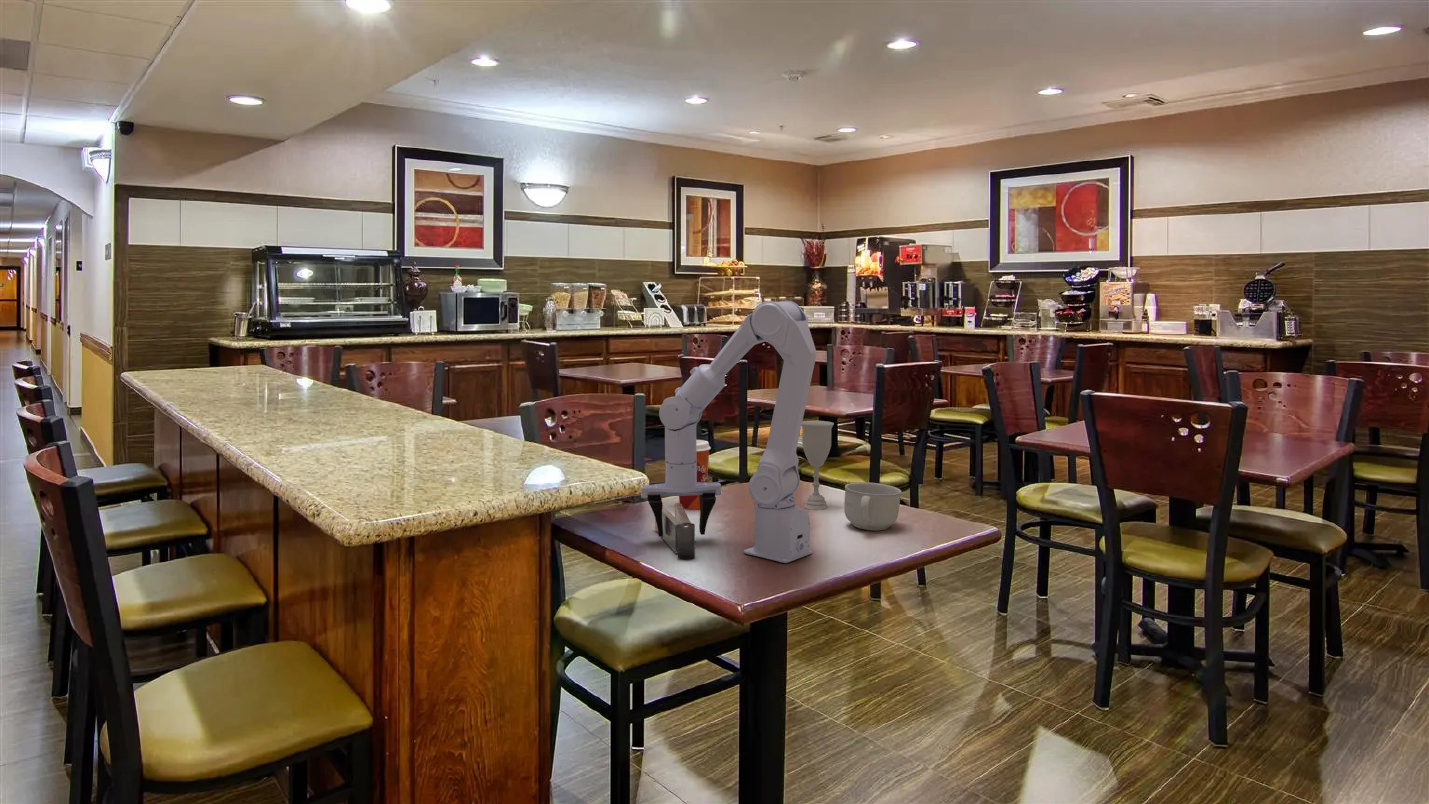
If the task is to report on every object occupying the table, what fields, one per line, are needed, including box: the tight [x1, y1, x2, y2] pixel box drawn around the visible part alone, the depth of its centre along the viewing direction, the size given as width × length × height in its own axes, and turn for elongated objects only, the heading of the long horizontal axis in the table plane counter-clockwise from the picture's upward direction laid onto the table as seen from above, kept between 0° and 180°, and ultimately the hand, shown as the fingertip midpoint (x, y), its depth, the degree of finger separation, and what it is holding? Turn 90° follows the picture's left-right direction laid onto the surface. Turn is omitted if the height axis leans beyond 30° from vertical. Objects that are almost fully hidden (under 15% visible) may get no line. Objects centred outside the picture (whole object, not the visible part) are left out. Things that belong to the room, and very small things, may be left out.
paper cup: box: [678, 439, 712, 511], centre depth 193 cm, size 8×8×14 cm
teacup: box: [843, 481, 902, 532], centre depth 175 cm, size 14×11×8 cm
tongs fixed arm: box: [674, 503, 696, 561], centre depth 166 cm, size 20×3×6 cm, turn 9°
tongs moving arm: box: [654, 504, 680, 554], centre depth 167 cm, size 17×1×5 cm, turn 16°
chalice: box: [801, 420, 835, 511], centre depth 192 cm, size 7×7×18 cm
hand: (681, 534), depth 167 cm, fingers open, 7 cm apart
